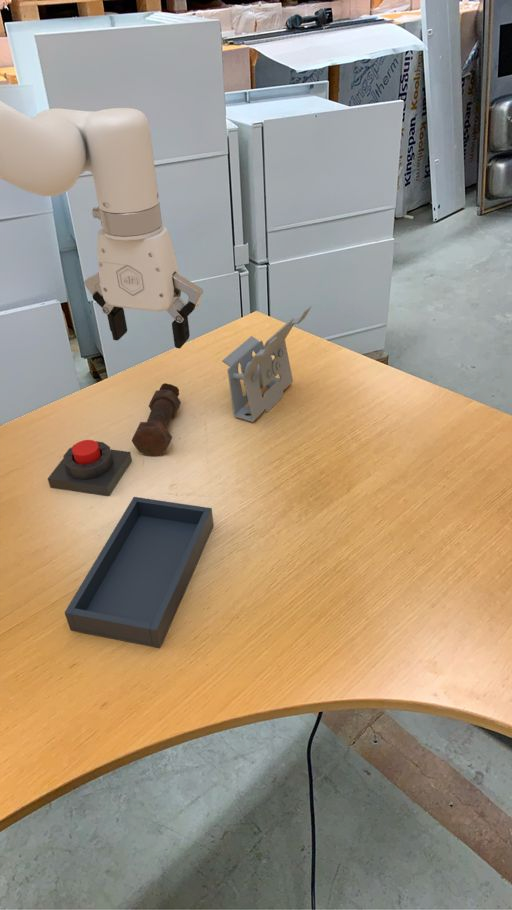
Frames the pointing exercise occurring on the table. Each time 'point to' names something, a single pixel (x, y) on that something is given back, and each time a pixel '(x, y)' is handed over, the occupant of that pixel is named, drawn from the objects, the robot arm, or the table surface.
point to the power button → (86, 452)
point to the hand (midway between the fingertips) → (150, 340)
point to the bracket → (260, 372)
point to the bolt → (158, 422)
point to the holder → (141, 572)
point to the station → (91, 472)
